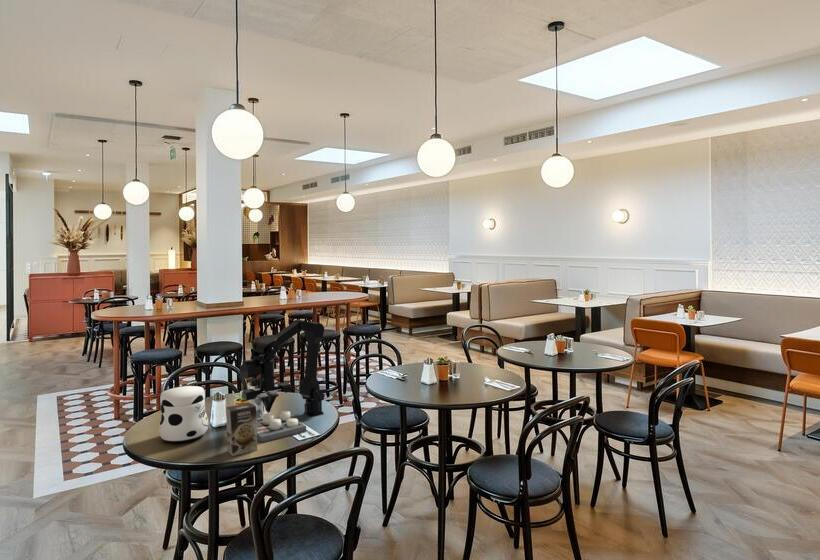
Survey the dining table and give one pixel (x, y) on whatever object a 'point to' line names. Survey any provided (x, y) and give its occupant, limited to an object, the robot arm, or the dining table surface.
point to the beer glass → (257, 404)
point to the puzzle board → (277, 431)
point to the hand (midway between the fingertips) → (268, 412)
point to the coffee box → (241, 429)
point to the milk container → (183, 414)
